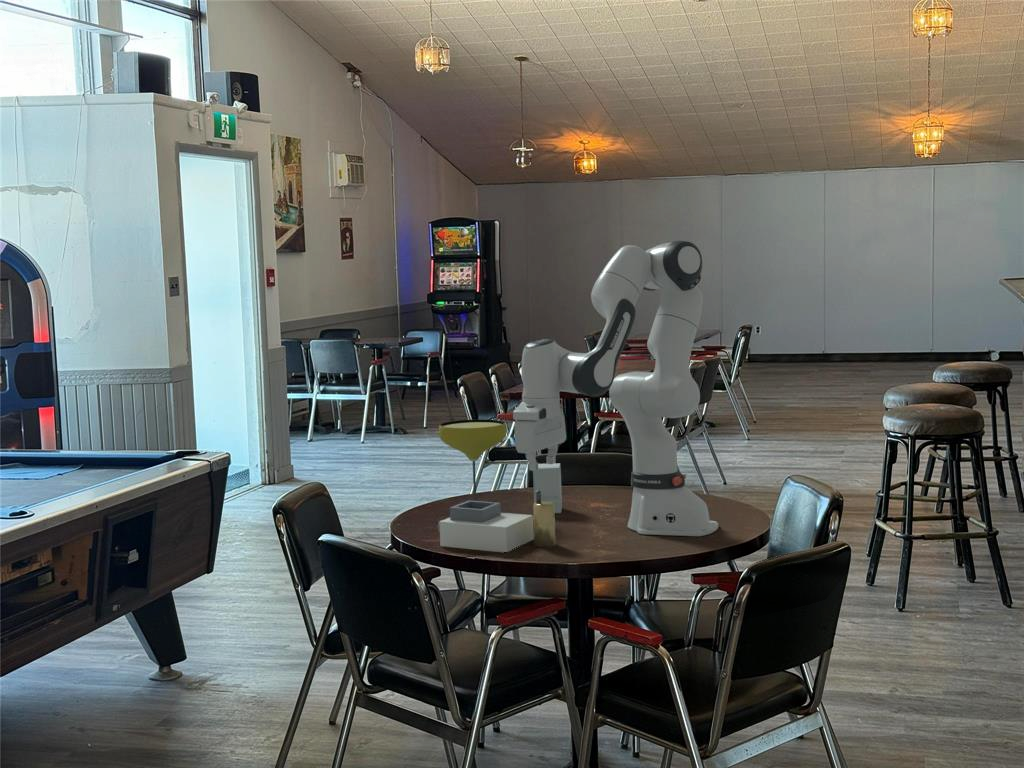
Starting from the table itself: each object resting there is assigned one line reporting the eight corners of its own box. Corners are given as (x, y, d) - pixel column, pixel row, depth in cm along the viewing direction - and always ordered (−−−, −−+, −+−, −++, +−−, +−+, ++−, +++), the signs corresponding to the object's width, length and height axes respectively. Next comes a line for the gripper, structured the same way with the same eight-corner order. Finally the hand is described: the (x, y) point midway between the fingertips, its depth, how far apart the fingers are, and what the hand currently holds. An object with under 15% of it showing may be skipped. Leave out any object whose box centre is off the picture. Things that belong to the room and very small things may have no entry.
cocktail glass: (521, 516, 297) (518, 423, 294) (460, 526, 288) (457, 430, 285) (489, 505, 312) (486, 417, 310) (430, 514, 304) (427, 423, 301)
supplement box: (562, 508, 307) (561, 462, 305) (561, 513, 299) (559, 467, 298) (535, 508, 307) (534, 463, 306) (533, 514, 300) (532, 467, 299)
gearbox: (533, 539, 271) (532, 503, 270) (506, 552, 258) (505, 514, 258) (455, 532, 281) (454, 497, 280) (426, 544, 269) (424, 508, 268)
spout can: (558, 543, 266) (557, 489, 265) (549, 548, 262) (548, 493, 260) (540, 541, 268) (538, 488, 267) (530, 546, 264) (529, 492, 263)
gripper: (548, 403, 273) (549, 459, 274) (509, 413, 255) (510, 473, 256) (571, 404, 270) (572, 460, 271) (534, 414, 252) (535, 474, 253)
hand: (542, 466), depth 263 cm, fingers open, 8 cm apart
